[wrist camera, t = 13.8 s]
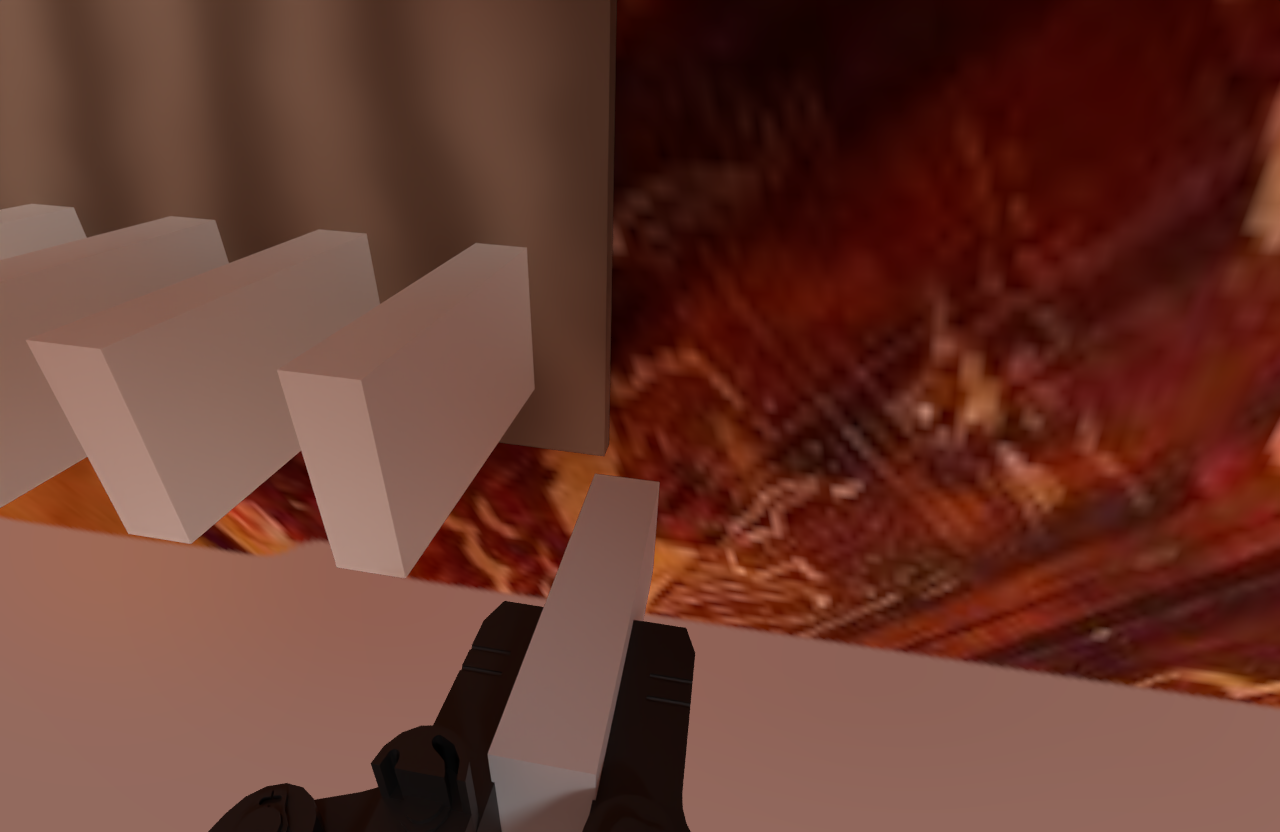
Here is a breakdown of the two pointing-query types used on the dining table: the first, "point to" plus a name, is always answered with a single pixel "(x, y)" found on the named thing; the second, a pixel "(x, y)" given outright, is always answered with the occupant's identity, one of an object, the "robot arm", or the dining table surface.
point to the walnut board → (344, 144)
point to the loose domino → (412, 404)
